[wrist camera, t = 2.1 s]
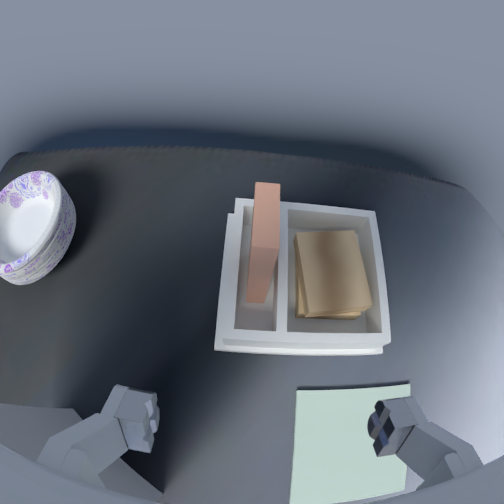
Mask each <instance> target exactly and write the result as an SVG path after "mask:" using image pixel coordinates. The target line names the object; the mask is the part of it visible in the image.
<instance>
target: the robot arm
mask: <svg viewBox="0 0 504 504" xmlns="http://www.w3.org/2000/svg"><path fill="white" fill-rule="evenodd" d="M156 402H157V395H156V393H155V392H150V391H145V390H141V389H136V388H131V387H126V386H122V385H118V384H117V385H116V386H114V387H113V389H112V391H111V393H110V395H109V397H108V399H107V401H106V403H105V405H104V407H103V409H102V411H101V413H100V414H99V413H96V414H94V415H92V416H90V417H88V418H86V419H84V420H83V421H81V422H79V423H77V424H75V425H73V426H71V427H69V428H67V429H65V430H64V431H62V432H60V433H58V434H56V435H54V436H52V437H50V438H49V439H48V441H47V443H46V445H45V446H44V448H43V450H42V452H41V453H40V455H39V457H38V459H37V461H34V460H32V459H30V458H28V457H26V456H24V455H22V454H20V453H18V452H16V451H14V450H12V449H10V448H9V447H7V446H5V445H3V444H2V443H0V504H166V503H161V502H156V501H151V500H146V499H142V498H138V497H133V496H130V495H126V494H122V493H118V492H115V491H111V490H108V489H106V487H105V486H104V484H103V482H102V481H101V479H100V478H99V476H98V474H99V473H100V472H101V471H103V470H104V469H105V468H106V467H108V466H109V465H110V464H111V463H113V462H114V461H115V460H116V459H118V458H119V457H120V456H121V455H123V454H124V453H125V452H126V451H128V449H132V450H137V451H142V452H147V453H151V449H152V446H153V442H154V436H153V433H154V432H156V431H157V429H158V425H159V418H160V417H159V407H158V406H157V405H156ZM374 408H375V410H376V411H375V412H373V413H372V414H371V415H370V417H369V419H368V424H367V429H368V433H369V436H370V437H371V438H372V439H374V443H373V447H374V450H375V453H376V456H377V457H382V456H388V455H394V454H396V456H397V457H398V458H399V459H401V460H402V461H403V462H404V463H405V464H406V465H407V466H409V467H410V468H411V469H412V470H413V471H414V472H415V473H417V474H418V475H419V476H420V477H421V478H422V479H424V481H423V482H422V483H421V484H420V485H419V486H418V487H417V489H416V491H414V492H410V493H407V494H403V495H399V496H395V497H391V498H387V499H383V500H378V501H374V502H369V503H363V504H504V455H503V456H502V457H500V458H498V459H496V460H494V461H492V462H490V463H487V464H485V465H483V463H482V462H481V460H480V458H479V456H478V455H477V453H476V451H475V450H474V448H473V446H472V445H470V444H469V443H467V442H465V441H463V440H462V439H460V438H458V437H456V436H455V435H453V434H451V433H450V432H448V431H446V430H444V429H443V428H441V427H439V426H438V425H436V424H434V423H433V422H428V420H427V418H426V417H425V415H424V413H423V411H422V410H421V408H420V406H419V405H418V403H417V401H416V399H415V398H414V397H413V396H407V397H401V398H392V399H384V400H379V401H377V402H376V404H375V406H374Z"/></svg>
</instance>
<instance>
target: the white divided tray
mask: <svg viewBox="0 0 504 504" xmlns="http://www.w3.org/2000/svg"><path fill="white" fill-rule="evenodd" d="M253 206H254V199H244V198H236V201H235V211H234V214H231V213H228V219H227V228H226V236H225V245H224V254H223V264H222V273H221V283H220V293H219V303H218V313H217V324H216V335H215V346H214V350H216V351H228V352H242V353H258V354H279V355H376V354H381V353H383V346H384V345H386V344H388V343H390V342H391V334H390V320H389V308H388V298H387V288H386V280H385V272H384V264H383V257H382V250H381V244H380V237H379V231H378V226H377V220H376V215H375V211H367V210H359V209H351V208H342V207H333V206H324V205H314V204H304V203H293V202H282V201H280V249H279V252H278V256H277V260H276V263H275V267H274V270H273V274H272V277H271V281H270V284H269V288H268V291H267V295H266V298H265V302H264V303H250V302H246V293H247V278H248V263H249V250H250V239H251V228H252V217H253ZM347 230H355V234H356V237H357V241H358V245H359V249H360V253H361V257H362V261H363V265H364V269H365V273H366V277H367V282H368V286H369V291H370V295H371V300H372V306H371V307H369V308H368V309H367V310H365V311H361V315H360V316H359V317H358V318H356V319H355V320H337V319H305V318H295V250H294V243H293V240H294V237H295V234H296V232H319V231H347Z"/></svg>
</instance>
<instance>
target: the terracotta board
mask: <svg viewBox="0 0 504 504" xmlns="http://www.w3.org/2000/svg"><path fill="white" fill-rule="evenodd" d="M279 249H280V184H274V183H262V182H256V185H255V195H254V206H253V217H252V228H251V239H250V250H249V263H248V278H247V293H246V302H250V303H264V302H265V298H266V295H267V291H268V288H269V284H270V281H271V277H272V274H273V270H274V267H275V263H276V260H277V256H278V252H279Z"/></svg>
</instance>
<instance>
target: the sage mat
mask: <svg viewBox="0 0 504 504" xmlns="http://www.w3.org/2000/svg"><path fill="white" fill-rule="evenodd" d="M407 396H410V384H406V385H397V386H387V387H375V388H362V389H343V390H296V406H295V427H294V444H293V459H292V473H291V486H290V497H289V504H332V503H340V502H347V501H354V500H360V499H365V498H371V497H376V496H381V495H385V494H390V493H394V492H398V491H402V490H404V487H405V479H406V470H407V465H406V464H405V463H404V462H403V461H402V460H401V459H399V458H398V457H397V456H396V454H394V455H388V456H382V457H377V456H376V453H375V450H374V447H373V443H374V439H372V438H371V437H370V436H369V433H368V429H367V424H368V419H369V417H370V415H371V414H372V413H373V412H375V411H376V410H375V408H374V406H375V404H376V402H377V401H379V400H384V399H392V398H401V397H407Z"/></svg>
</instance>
